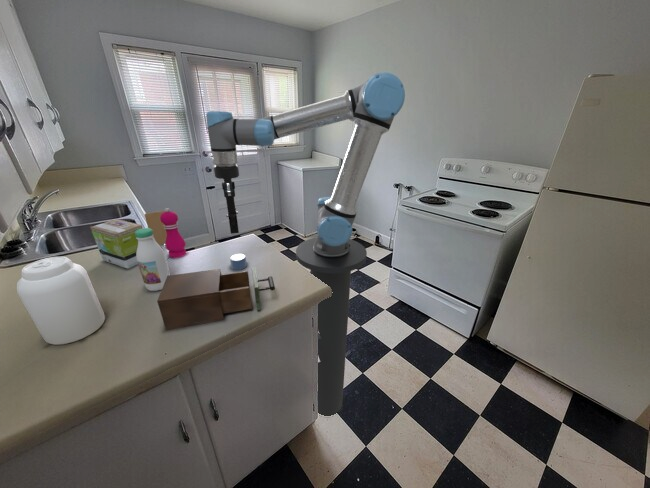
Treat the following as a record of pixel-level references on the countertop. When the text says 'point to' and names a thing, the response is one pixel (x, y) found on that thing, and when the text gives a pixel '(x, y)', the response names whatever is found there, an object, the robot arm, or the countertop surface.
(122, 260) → the tea box
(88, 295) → the white plastic jar
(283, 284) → the countertop surface
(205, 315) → the cabinet
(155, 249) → the milk bottle
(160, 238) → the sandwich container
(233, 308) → the drawer
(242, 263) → the blue short cylinder
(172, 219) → the pepper mill
